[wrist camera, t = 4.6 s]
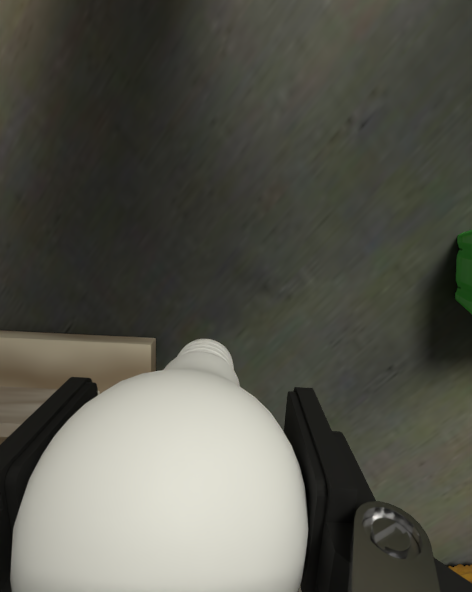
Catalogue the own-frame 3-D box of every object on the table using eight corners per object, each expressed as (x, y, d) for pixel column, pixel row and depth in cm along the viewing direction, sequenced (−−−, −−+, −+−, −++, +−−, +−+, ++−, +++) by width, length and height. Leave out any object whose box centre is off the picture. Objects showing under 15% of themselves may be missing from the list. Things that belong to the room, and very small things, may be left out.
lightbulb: (297, 368, 15) (434, 730, 4) (198, 435, 16) (115, 867, 5) (217, 266, 14) (144, 427, 3) (115, 346, 15) (-193, 665, 4)
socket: (-72, 326, 25) (-165, 356, 19) (155, 338, 25) (131, 371, 20) (-42, 516, 29) (-113, 589, 23) (156, 525, 29) (135, 600, 23)
